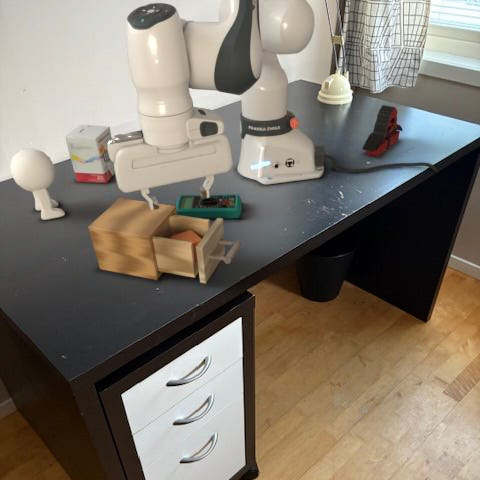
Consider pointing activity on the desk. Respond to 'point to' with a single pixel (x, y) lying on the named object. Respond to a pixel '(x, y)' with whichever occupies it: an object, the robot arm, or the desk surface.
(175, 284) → the desk surface
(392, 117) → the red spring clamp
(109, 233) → the cabinet
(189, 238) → the block
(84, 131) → the ink box
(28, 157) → the toy character
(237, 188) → the desk surface
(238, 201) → the digital multimeter
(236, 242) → the drawer
